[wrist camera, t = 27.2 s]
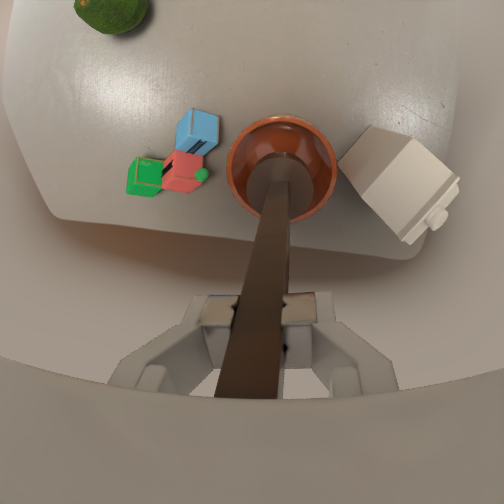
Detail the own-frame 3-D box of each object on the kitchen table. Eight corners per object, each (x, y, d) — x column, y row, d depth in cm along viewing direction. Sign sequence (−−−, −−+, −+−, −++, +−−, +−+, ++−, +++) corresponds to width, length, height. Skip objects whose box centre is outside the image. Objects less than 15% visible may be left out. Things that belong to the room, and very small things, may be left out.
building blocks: (180, 153, 45) (221, 114, 35) (178, 203, 43) (220, 174, 34) (131, 143, 40) (161, 97, 30) (125, 196, 39) (152, 160, 29)
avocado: (101, 18, 31) (51, 4, 20) (140, -18, 28) (97, -44, 18) (127, 49, 34) (77, 38, 23) (169, 12, 31) (128, -13, 20)
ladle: (309, 149, 24) (393, 408, 3) (312, 207, 26) (348, 505, 6) (247, 154, 25) (74, 390, 4) (254, 210, 27) (165, 494, 6)
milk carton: (336, 163, 38) (371, 212, 21) (370, 124, 35) (432, 144, 18) (374, 198, 40) (425, 266, 23) (407, 160, 37) (481, 207, 20)
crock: (321, 111, 35) (333, 113, 26) (326, 190, 40) (338, 220, 30) (238, 118, 37) (219, 123, 27) (248, 195, 42) (234, 226, 32)
